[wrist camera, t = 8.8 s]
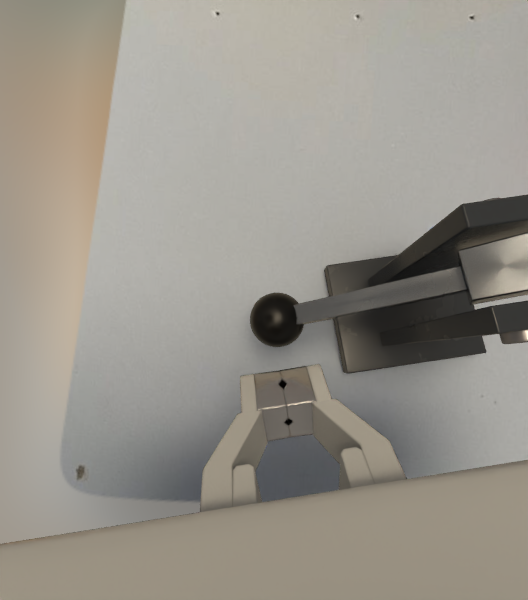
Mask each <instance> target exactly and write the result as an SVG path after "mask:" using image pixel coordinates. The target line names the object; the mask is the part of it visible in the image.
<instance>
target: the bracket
mask: <svg viewBox="0 0 528 600" xmlns="http://www.w3.org/2000/svg"><path fill="white" fill-rule="evenodd" d="M526 232H528V195H522V196H515V197H508V198H492V199H488V200H484V201H480V202H473V203H467V204H462V205H460V206H459V207H458V208H456V209H455V210H454V211H453V212H451V213H450V214H449V215H448V216H446V217H445V218H444V219H443V220H441V221H440V222H439V223H438V224H437V225H435V226H434V227H433V228H432V229H430V230H429V231H428V232H427V233H425V234H424V235H423V236H422V237H420V238H419V239H418V240H417V241H415V242H414V243H413V244H412V245H410V246H409V247H408V248H407V249H405V250H404V251H403V252H402V253H400V254H399V255H396V256H389V257H382V258H375V259H368V260H361V261H355V262H348V263H341V264H334V265H327V266H326V268H325V270H324V272H325V277H326V282H327V287H328V293H329V297H330V296H334V295H338V294H343V293H347V292H351V291H355V290H360V289H364V288H368V287H372V286H377V285H381V284H385V283H389V282H394V281H398V280H402V279H406V278H410V277H415V276H419V275H423V274H427V273H432V272H436V271H440V270H444V269H449V268H453V267H457V266H459V264H458V251H459V250H461V249H464V248H468V247H472V246H476V245H480V244H484V243H488V242H492V241H495V240H499V239H503V238H507V237H511V236H515V235H519V234H523V233H526ZM334 325H335V330H336V335H337V340H338V346H339V351H340V356H341V362H342V367H343V372H344V373H355V372H361V371H368V370H375V369H381V368H388V367H395V366H401V365H408V364H415V363H421V362H428V361H435V360H441V359H448V358H455V357H461V356H468V355H475V354H481V353H486V349H485V345H484V342H483V338H482V336H483V335H492V334H500V338H501V341H502V343H503V344H514V343H523V342H528V301H522V302H516V303H509V304H502V305H495V306H490V307H485V308H481V309H477V310H475V309H474V305H470V304H469V301H468V297H467V293H466V292H465V293H460V294H455V295H450V296H445V297H440V298H435V299H430V300H425V301H420V302H415V303H410V304H405V305H400V306H395V307H390V308H385V309H380V310H375V311H370V312H365V313H360V314H355V315H350V316H345V317H340V318H335V319H334Z"/></svg>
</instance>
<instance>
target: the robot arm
mask: <svg viewBox="0 0 528 600" xmlns="http://www.w3.org/2000/svg"><path fill="white" fill-rule="evenodd" d="M240 391H241V413H240V414H237V416H236V417H235V419H234V420H233V422H232V424H231V425H230V427H229V428H228V430H227V432H226V433H225V435H224V436H223V438H222V440H221V441H220V443H219V444H218V446H217V448H216V449H215V451H214V452H213V454H212V456H211V457H210V459H209V460H208V462H207V464H206V465H205V467H204V469H203V474H202V489H201V503H200V512H198V513H192V514H187V515H180V516H173V517H167V518H161V519H154V520H148V521H142V522H136V523H129V524H124V525H117V526H111V527H104V528H98V529H92V530H86V531H79V532H73V533H67V534H61V535H54V536H48V537H42V538H35V539H29V540H23V541H16V542H10V543H4V544H0V600H528V460H524V461H517V462H511V463H505V464H499V465H492V466H486V467H480V468H474V469H467V470H461V471H455V472H449V473H442V474H436V475H430V476H424V477H417V478H411V479H407V478H406V476H405V474H404V471H403V469H402V467H401V465H400V463H399V461H398V458H397V456H396V454H395V452H394V450H393V448H392V445H391V443H390V441H389V440H388V439H386V438H385V437H384V436H383V435H381V434H380V433H379V432H378V431H376V430H375V429H374V428H372V427H371V426H370V425H369V424H367V423H366V422H365V421H364V420H362V419H361V418H360V417H359V416H357V415H356V414H355V413H353V412H352V411H351V410H350V409H348V408H347V407H346V406H345V405H343V404H342V403H341V402H340V401H338V400H337V399H332V398H331V395H330V392H329V389H328V386H327V383H326V380H325V377H324V374H323V371H322V368H321V366H320V365H319V364H317V365H310V366H303V367H297V368H291V369H285V370H280V371H273V372H265V373H258V374H251V375H244V376H240ZM312 434H313V435H314V437H315V438H316V439H317V440H318V441H319V442H320V443H321V444H322V445H323V446H324V448H325V449H326V450H327V451H328V452H329V453H330V454H331V455H332V456H333V457H334V459H335V460H336V461H337V462H338V463H339V464H340V477H339V490H336V491H329V492H323V493H317V494H311V495H304V496H298V497H292V498H286V499H279V500H273V501H267V502H262V498H261V494H260V490H259V486H258V482H257V477H256V473H255V471H256V469H257V467H258V464H259V462H260V460H261V457H262V455H263V453H264V450H265V448H266V446H267V443H268V442H267V441H273V440H278V439H284V438H289V437H296V436H304V435H312Z"/></svg>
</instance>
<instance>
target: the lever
mask: <svg viewBox="0 0 528 600" xmlns="http://www.w3.org/2000/svg"><path fill="white" fill-rule="evenodd" d="M458 264H459V266H457V267H453V268H449V269H444V270H440V271H436V272H432V273H427V274H423V275H419V276H415V277H410V278H406V279H402V280H398V281H394V282H389V283H385V284H381V285H377V286H372V287H368V288H364V289H360V290H355V291H351V292H347V293H343V294H338V295H334V296H330V297H326V298H322V299H317V300H313V301H309V302H305V303H300V304H299V303H298V302H297V301H296V300H295V299H294V298H292V297H291V296H289V295H287V294H283V293H271V294H268V295H265V296H263V297H262V298H260V299H259V300H258V301H257V302H256V304H255V305H254V307H253V309H252V311H251V316H250V324H251V328H252V331H253V333H254V335H255V336H256V337H257V338H258V339H259V340H260V341H261V342H262V343H264V344H266V345H269V346H272V347H282V346H286V345H289V344H290V343H292V342H294V341H295V340H296V339H297V338H298V337H299V335H300V334H301V332H302V330H303V326H304V324H309V323H314V322H319V321H325V320H330V319H335V318H340V317H345V316H350V315H355V314H360V313H365V312H370V311H375V310H380V309H385V308H390V307H395V306H400V305H405V304H410V303H415V302H420V301H425V300H430V299H435V298H440V297H445V296H450V295H455V294H460V293H465V292H466V293H467V297H468V301H469V304H470V305H473V304H478V303H484V302H490V301H495V300H501V299H506V298H512V297H517V296H523V295H528V232H526V233H523V234H519V235H515V236H511V237H507V238H503V239H499V240H495V241H492V242H488V243H484V244H480V245H476V246H472V247H468V248H464V249H461V250H459V251H458Z"/></svg>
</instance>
